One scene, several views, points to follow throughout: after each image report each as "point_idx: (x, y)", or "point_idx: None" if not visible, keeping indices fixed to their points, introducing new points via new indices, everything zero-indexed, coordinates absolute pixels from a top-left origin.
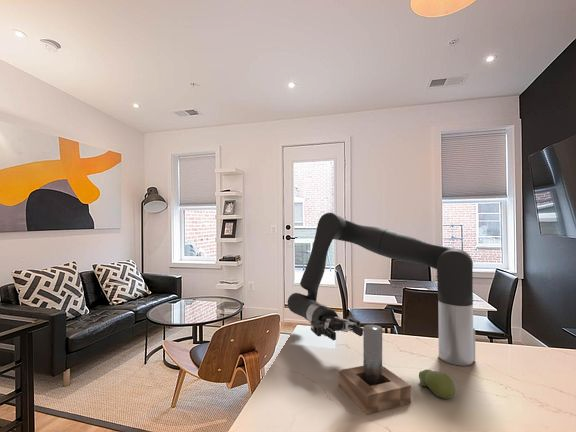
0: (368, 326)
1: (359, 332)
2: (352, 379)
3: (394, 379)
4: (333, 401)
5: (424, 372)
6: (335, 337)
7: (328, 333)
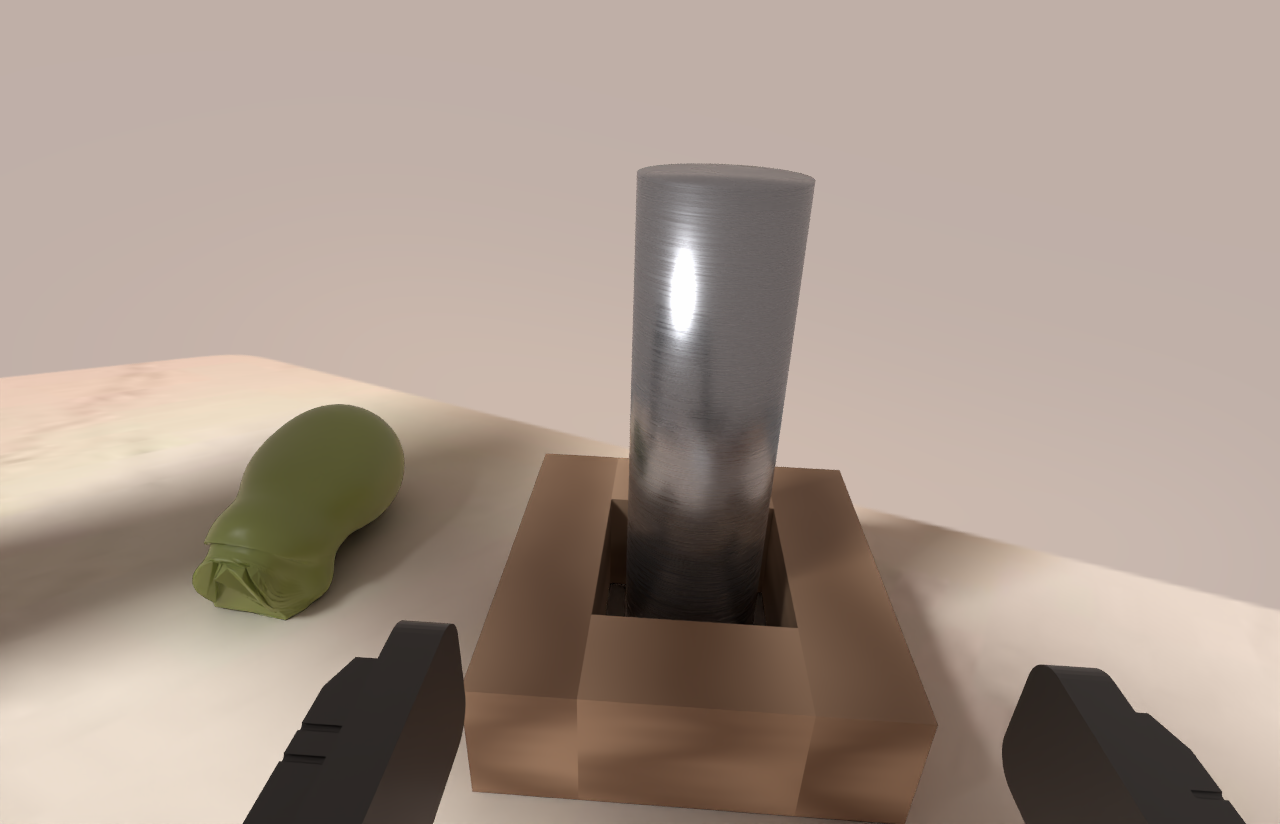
0: (746, 183)
1: (452, 700)
2: (858, 584)
3: (575, 504)
4: (991, 683)
5: (290, 517)
6: (1021, 718)
7: (1213, 807)
